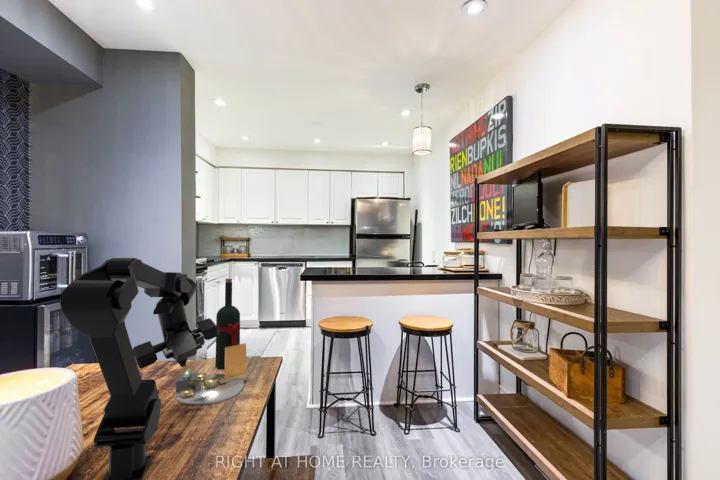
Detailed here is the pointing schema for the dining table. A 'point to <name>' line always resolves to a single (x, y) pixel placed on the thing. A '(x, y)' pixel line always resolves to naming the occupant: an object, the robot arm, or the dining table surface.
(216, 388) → the levelling plate
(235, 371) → the lever
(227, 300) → the wine bottle
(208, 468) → the dining table surface
